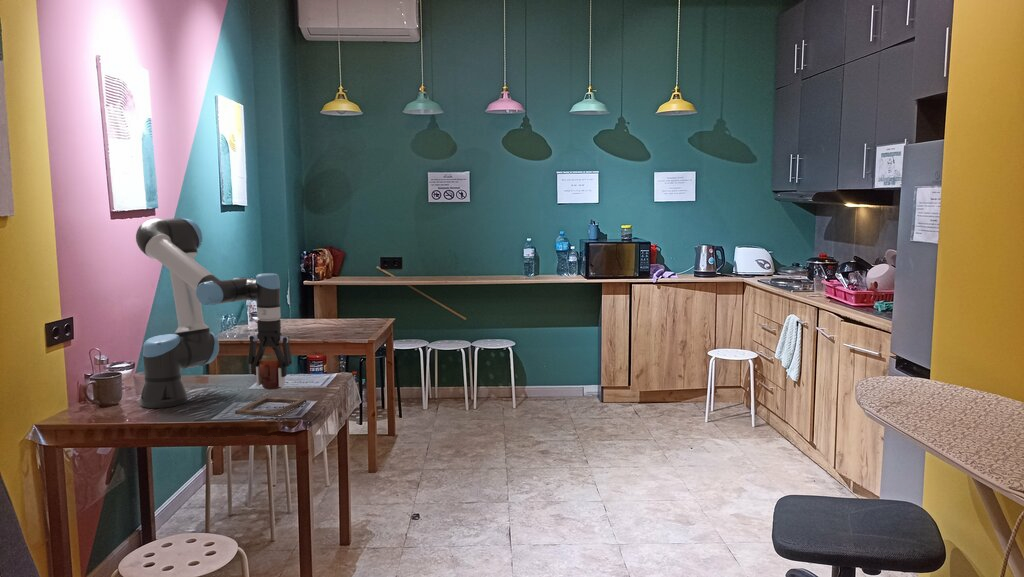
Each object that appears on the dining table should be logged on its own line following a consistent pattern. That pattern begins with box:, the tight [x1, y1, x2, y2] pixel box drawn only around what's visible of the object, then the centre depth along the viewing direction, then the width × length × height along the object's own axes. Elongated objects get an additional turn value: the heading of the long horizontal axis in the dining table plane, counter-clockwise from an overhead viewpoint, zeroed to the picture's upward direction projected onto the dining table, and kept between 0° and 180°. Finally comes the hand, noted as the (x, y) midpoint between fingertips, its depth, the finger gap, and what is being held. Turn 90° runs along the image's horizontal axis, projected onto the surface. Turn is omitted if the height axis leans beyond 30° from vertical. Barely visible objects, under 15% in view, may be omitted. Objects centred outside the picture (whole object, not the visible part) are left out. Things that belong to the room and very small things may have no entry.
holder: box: [234, 396, 307, 417], centre depth 258 cm, size 16×19×1 cm
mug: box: [259, 355, 284, 391], centre depth 257 cm, size 12×9×10 cm
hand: (270, 385), depth 257 cm, fingers closed on mug, 7 cm apart
